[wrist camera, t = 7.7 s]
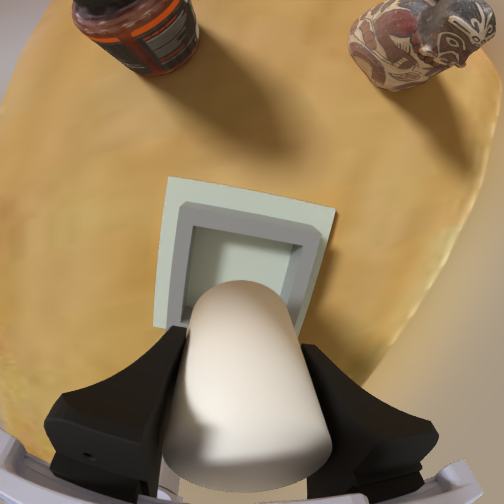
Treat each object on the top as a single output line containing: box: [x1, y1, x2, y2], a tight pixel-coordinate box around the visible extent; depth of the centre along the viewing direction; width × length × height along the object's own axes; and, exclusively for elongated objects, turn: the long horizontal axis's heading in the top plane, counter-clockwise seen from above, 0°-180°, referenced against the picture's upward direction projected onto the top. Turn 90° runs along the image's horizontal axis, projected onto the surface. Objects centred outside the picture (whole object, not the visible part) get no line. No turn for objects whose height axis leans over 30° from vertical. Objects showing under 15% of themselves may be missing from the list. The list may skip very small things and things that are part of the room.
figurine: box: [348, 0, 496, 92], centre depth 11 cm, size 7×7×12 cm
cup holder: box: [153, 176, 336, 339], centre depth 20 cm, size 12×12×3 cm
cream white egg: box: [162, 280, 332, 493], centre depth 11 cm, size 5×5×8 cm
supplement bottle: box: [71, 0, 200, 76], centre depth 11 cm, size 6×6×11 cm
